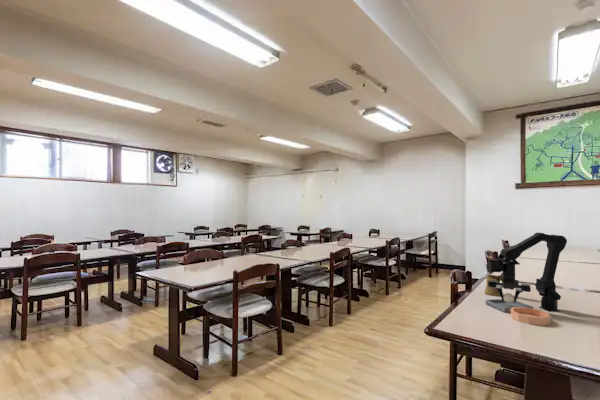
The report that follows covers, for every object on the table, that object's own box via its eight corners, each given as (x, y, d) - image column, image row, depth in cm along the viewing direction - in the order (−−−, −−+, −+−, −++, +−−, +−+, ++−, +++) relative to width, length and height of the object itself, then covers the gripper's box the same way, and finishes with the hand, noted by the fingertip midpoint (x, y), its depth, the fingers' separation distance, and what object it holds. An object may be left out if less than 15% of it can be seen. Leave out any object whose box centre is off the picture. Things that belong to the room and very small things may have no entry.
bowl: (531, 313, 162) (531, 306, 162) (558, 324, 147) (558, 317, 147) (503, 314, 160) (503, 307, 160) (528, 325, 145) (528, 318, 145)
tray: (512, 303, 179) (512, 299, 179) (533, 311, 165) (533, 307, 165) (485, 304, 177) (485, 299, 177) (504, 312, 163) (504, 307, 163)
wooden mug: (506, 298, 188) (506, 268, 188) (482, 293, 198) (482, 264, 199) (512, 296, 193) (512, 266, 194) (488, 291, 204) (488, 263, 204)
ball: (509, 301, 173) (509, 292, 174) (516, 304, 169) (516, 294, 169) (500, 301, 173) (501, 292, 173) (507, 304, 168) (508, 294, 168)
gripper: (487, 272, 170) (487, 302, 169) (530, 277, 159) (531, 309, 159) (488, 269, 179) (488, 297, 179) (530, 273, 168) (530, 303, 168)
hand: (508, 301), depth 171 cm, fingers closed on ball, 5 cm apart
